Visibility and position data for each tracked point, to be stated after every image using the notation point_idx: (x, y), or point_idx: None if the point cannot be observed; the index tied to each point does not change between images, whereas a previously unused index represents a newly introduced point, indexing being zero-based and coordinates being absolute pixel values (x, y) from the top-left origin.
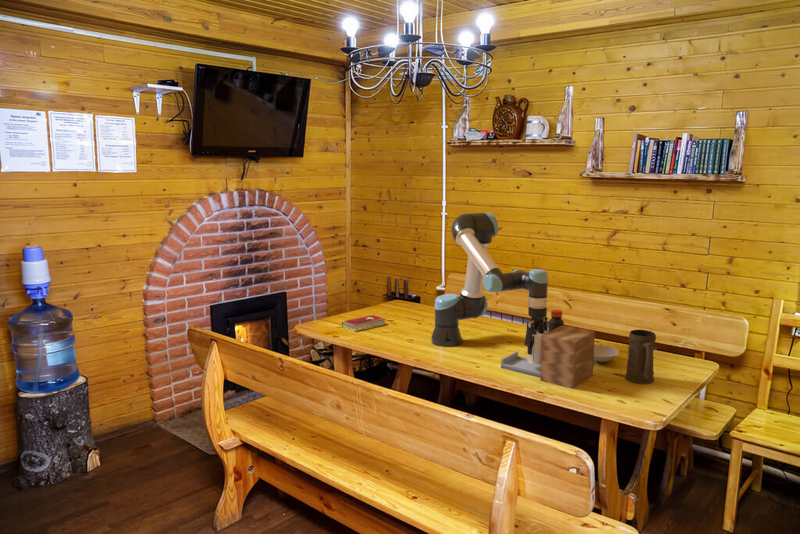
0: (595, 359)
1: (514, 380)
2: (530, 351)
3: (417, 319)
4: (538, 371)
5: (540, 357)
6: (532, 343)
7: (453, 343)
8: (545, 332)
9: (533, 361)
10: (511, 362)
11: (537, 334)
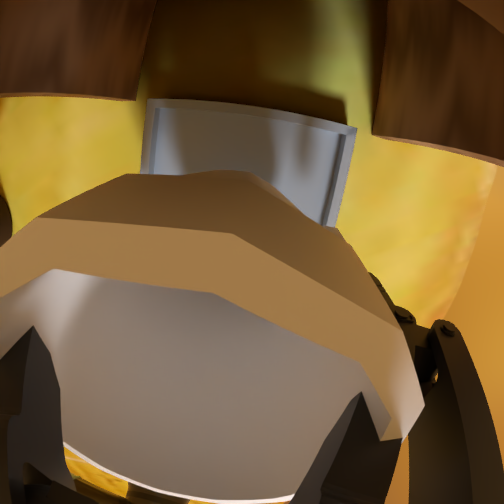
0: None
1: (423, 256)
2: (385, 291)
3: (105, 479)
4: (287, 178)
5: (280, 192)
6: (411, 336)
7: None
8: (10, 317)
9: (329, 227)
10: None
11: (79, 378)
